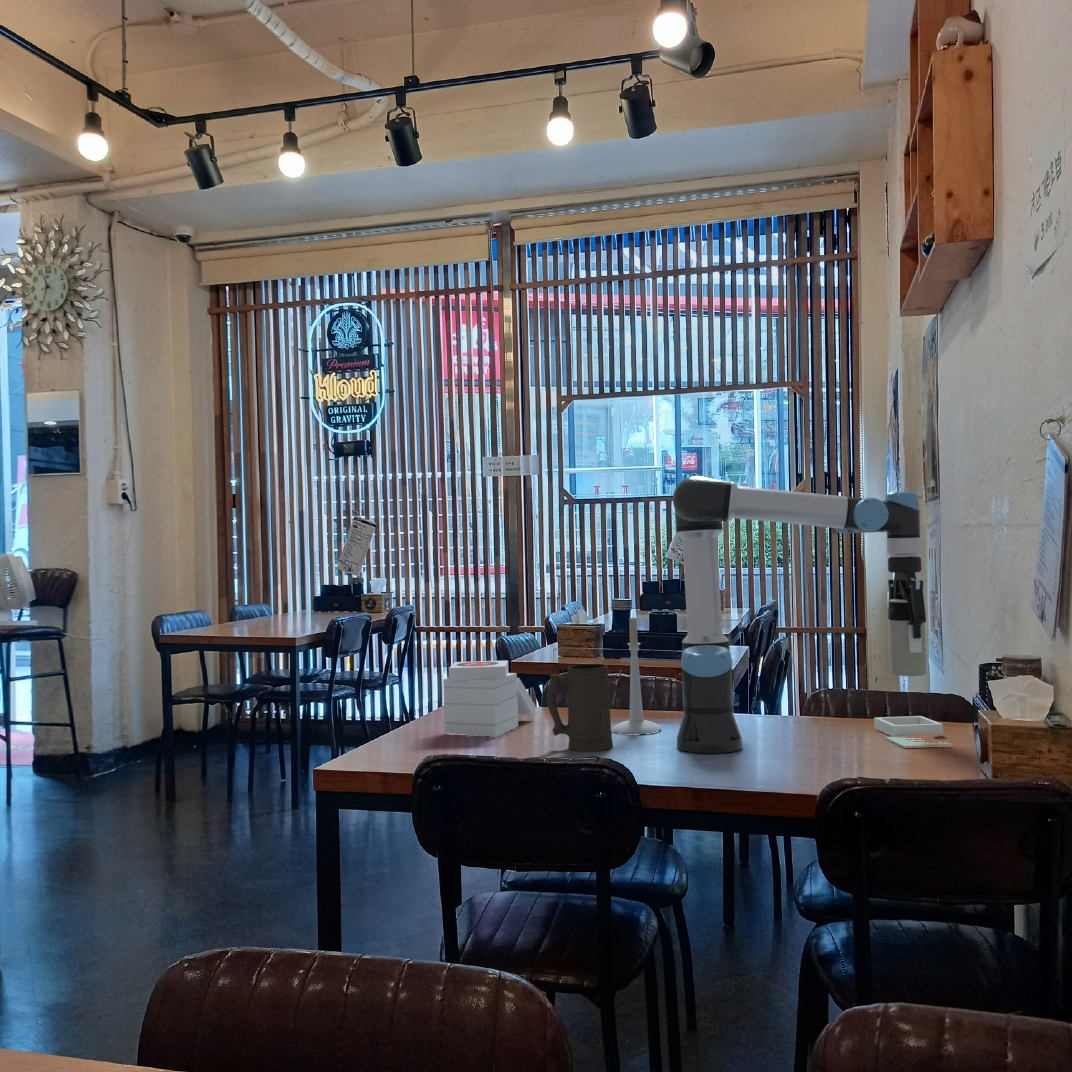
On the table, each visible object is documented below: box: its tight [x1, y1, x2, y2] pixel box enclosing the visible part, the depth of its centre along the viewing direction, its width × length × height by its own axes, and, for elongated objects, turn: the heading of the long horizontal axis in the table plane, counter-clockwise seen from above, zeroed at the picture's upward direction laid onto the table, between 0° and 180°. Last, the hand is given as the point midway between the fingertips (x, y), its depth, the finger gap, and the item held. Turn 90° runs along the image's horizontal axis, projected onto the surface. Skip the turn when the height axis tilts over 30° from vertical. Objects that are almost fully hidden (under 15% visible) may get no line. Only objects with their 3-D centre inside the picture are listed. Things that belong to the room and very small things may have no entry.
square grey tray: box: [873, 715, 944, 736], centre depth 227 cm, size 12×12×3 cm
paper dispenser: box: [442, 660, 536, 738], centre depth 254 cm, size 19×30×18 cm, turn 158°
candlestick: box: [611, 617, 662, 735], centre depth 243 cm, size 13×13×30 cm
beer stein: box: [546, 663, 614, 752], centre depth 222 cm, size 15×11×20 cm
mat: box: [884, 736, 953, 747], centre depth 215 cm, size 11×11×1 cm
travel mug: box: [888, 599, 927, 677], centre depth 222 cm, size 8×8×18 cm
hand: (907, 650), depth 222 cm, fingers closed on travel mug, 8 cm apart
